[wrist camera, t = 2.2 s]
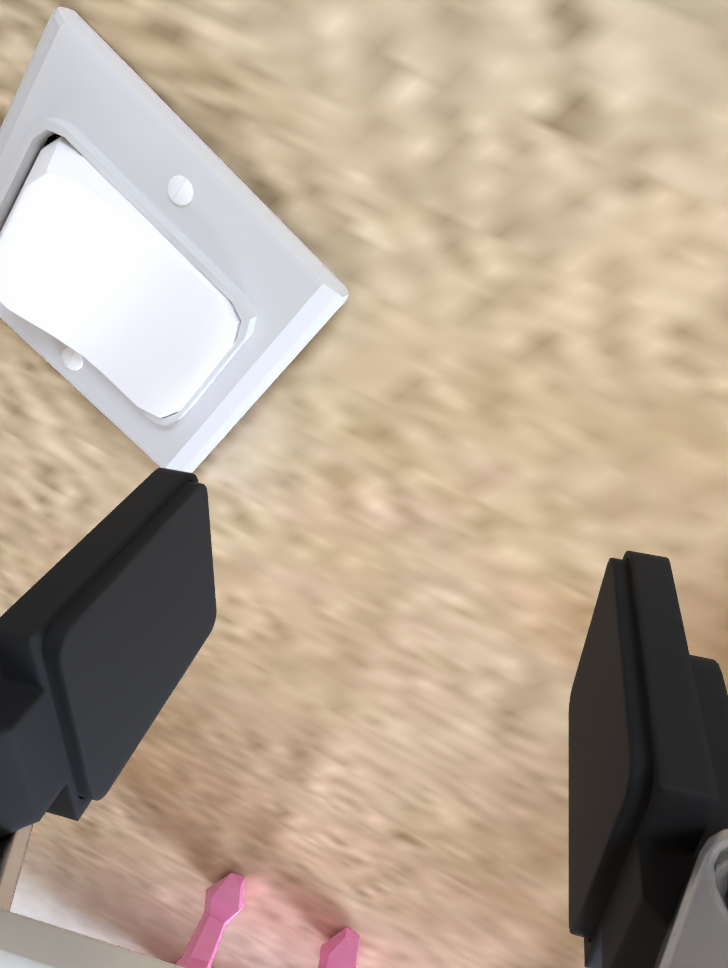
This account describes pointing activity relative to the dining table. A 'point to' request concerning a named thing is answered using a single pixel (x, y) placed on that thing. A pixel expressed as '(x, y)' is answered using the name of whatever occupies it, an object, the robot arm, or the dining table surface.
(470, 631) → the dining table surface
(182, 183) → the light switch
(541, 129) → the dining table surface
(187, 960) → the cat
